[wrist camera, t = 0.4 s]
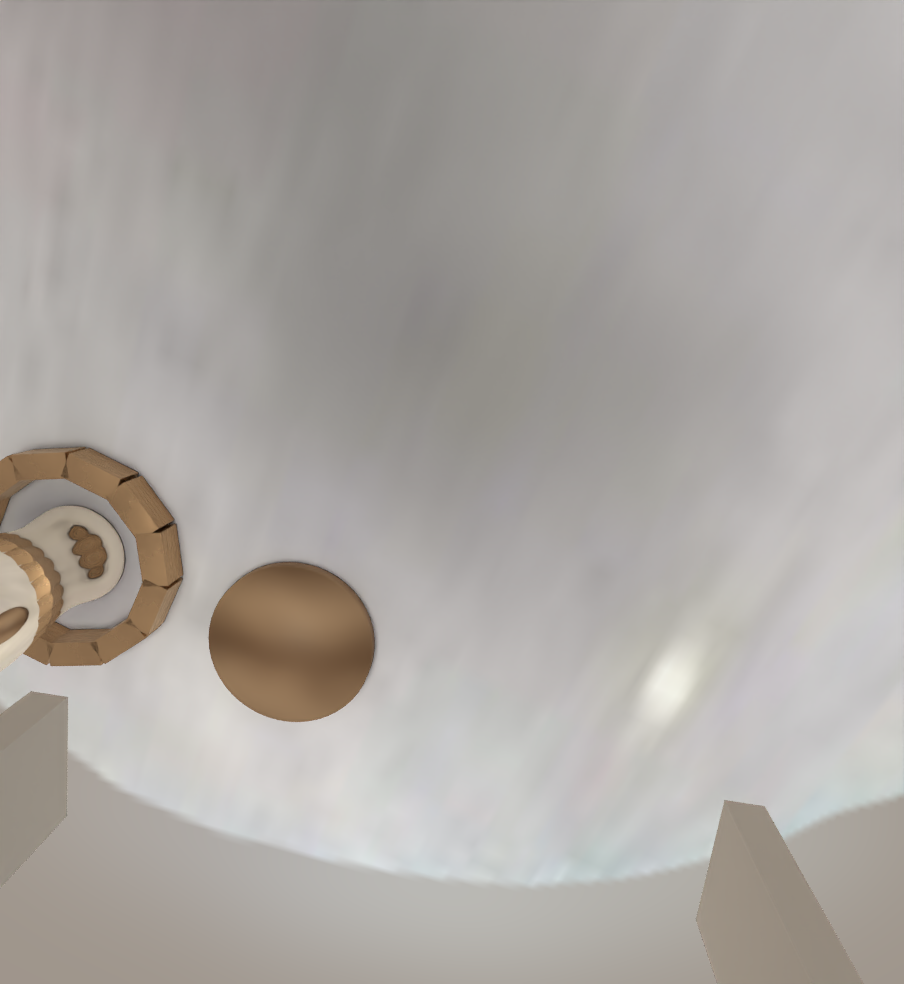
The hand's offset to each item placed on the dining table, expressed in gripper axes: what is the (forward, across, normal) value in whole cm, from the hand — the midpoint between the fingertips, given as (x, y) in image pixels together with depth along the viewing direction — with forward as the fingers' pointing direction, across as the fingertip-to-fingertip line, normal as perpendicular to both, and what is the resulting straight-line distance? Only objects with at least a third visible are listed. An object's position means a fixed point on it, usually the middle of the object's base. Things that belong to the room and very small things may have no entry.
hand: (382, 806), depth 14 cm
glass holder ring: (+27, -23, -7) cm, 36 cm away
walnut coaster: (+27, -9, -10) cm, 31 cm away
